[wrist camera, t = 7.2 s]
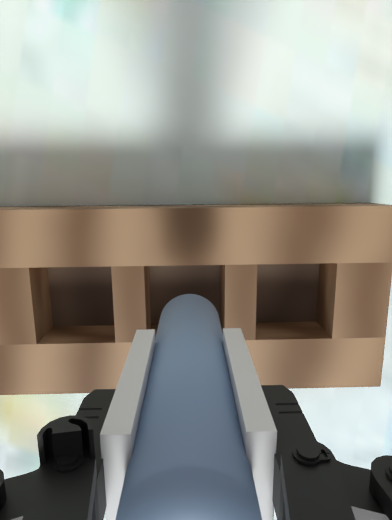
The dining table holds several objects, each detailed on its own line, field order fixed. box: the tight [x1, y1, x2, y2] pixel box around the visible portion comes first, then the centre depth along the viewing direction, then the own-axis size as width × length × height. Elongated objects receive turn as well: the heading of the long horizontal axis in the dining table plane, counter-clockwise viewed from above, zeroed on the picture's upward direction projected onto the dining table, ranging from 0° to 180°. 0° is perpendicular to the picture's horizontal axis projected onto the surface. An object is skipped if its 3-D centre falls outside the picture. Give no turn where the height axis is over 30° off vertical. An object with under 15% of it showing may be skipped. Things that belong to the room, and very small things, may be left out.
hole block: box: [0, 203, 392, 395], centre depth 25 cm, size 26×12×3 cm, turn 90°
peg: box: [116, 294, 262, 520], centre depth 14 cm, size 3×3×12 cm
